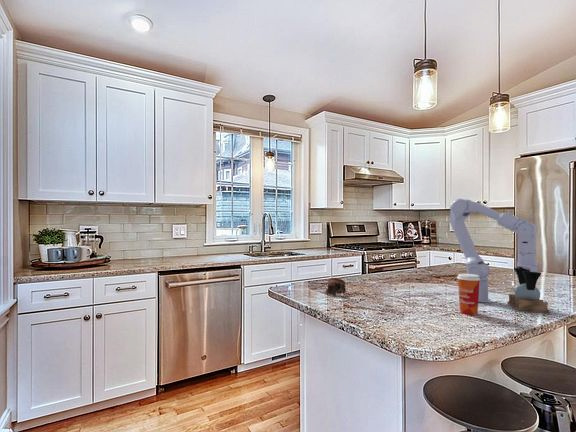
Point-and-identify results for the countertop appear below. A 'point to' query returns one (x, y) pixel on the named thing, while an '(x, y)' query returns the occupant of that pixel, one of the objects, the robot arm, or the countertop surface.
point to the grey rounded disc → (526, 292)
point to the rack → (528, 304)
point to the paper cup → (468, 293)
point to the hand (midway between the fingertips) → (526, 288)
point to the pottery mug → (335, 286)
